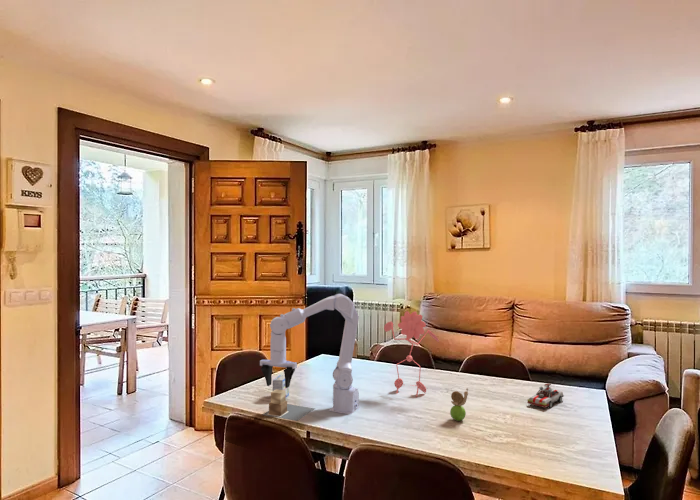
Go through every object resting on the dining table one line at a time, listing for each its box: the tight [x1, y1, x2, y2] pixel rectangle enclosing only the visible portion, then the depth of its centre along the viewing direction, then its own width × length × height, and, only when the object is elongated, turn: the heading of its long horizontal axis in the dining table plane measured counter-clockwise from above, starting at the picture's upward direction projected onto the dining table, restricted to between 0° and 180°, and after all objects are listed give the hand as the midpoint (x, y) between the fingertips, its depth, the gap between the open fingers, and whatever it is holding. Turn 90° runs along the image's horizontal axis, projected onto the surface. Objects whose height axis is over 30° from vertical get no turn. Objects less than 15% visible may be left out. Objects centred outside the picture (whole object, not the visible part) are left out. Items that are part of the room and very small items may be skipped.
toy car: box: [526, 382, 565, 409], centre depth 183 cm, size 8×18×8 cm, turn 133°
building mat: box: [261, 403, 316, 422], centre depth 172 cm, size 15×14×1 cm
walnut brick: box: [268, 400, 288, 416], centre depth 170 cm, size 5×5×4 cm
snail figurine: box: [449, 388, 469, 422], centre depth 164 cm, size 5×6×12 cm
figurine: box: [383, 310, 440, 398], centre depth 199 cm, size 15×26×35 cm, turn 60°
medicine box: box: [272, 374, 290, 398], centre depth 189 cm, size 8×4×9 cm, turn 168°
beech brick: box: [270, 389, 287, 404], centre depth 170 cm, size 4×4×4 cm
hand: (278, 386), depth 170 cm, fingers open, 7 cm apart
